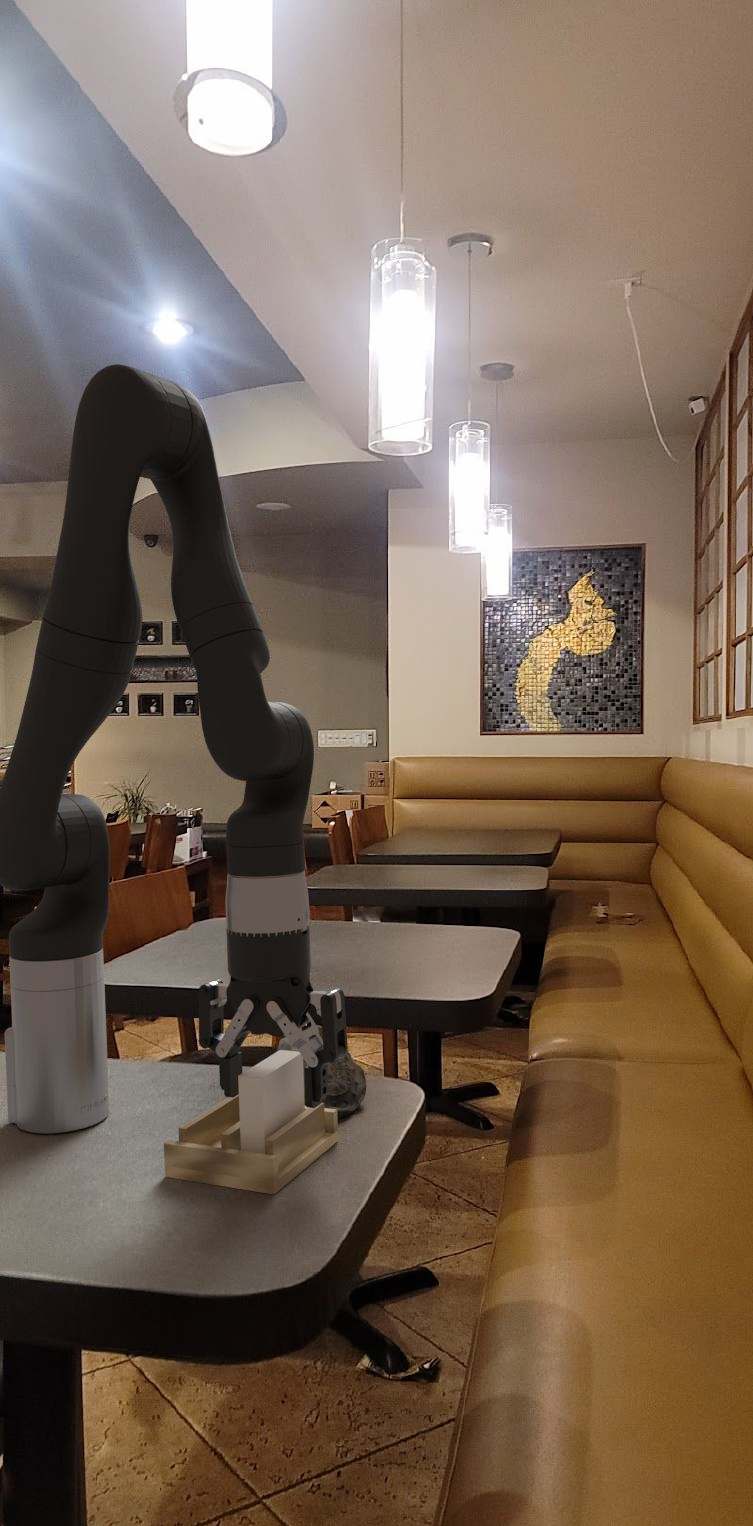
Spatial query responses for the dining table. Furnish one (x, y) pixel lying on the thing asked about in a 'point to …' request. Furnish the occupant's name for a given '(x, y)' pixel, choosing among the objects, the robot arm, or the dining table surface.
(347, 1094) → the fossil
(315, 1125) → the rack
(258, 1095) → the upright cream slab
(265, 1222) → the dining table surface
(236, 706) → the robot arm
